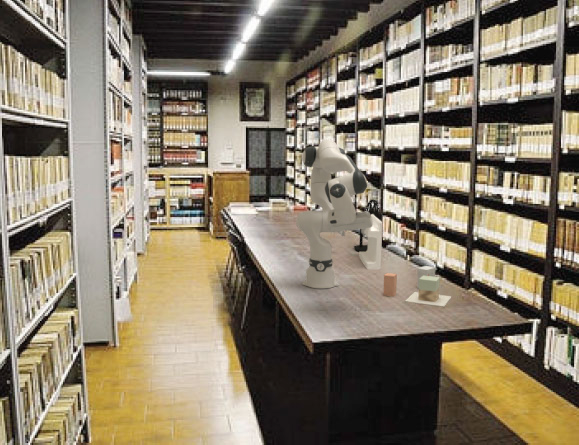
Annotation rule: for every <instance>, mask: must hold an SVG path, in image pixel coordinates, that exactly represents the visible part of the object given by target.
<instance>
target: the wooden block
mask: <svg viewBox="0 0 579 445" xmlns="http://www.w3.org/2000/svg"><path fill="white" fill-rule="evenodd" d="M418 292H419V296H418V300H424V301H432V302H436V301H437V299H438V298H439V295H440V288H439V289H438V290H437V291H436V292H435V291H427V290H419V289H418Z"/></svg>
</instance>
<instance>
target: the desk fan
mask: <svg viewBox="0 0 579 445" xmlns="http://www.w3.org/2000/svg"><path fill="white" fill-rule="evenodd" d="M364 211H366V212H369V213H370V214H373V215H374V216H375V217H377V218H378V219H379V220H380V221H381V222H382V223H383V216H382V215H383V214H382V213H381V207H380V204H379V203H378V201H377V200H376V199H370V200H369V201H368V203H367V204H366V207H365V209H364ZM363 235H364V234H362V233H361V229H359V244H356V245H354V246H353V248H354V250H355V251H356V252H366V251H367V249H368V244H363V242H364V240H363V238H364V237H363Z"/></svg>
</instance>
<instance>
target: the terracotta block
mask: <svg viewBox="0 0 579 445" xmlns="http://www.w3.org/2000/svg"><path fill="white" fill-rule="evenodd" d="M397 279H398V274H397V273H390V272H387V273H385V274H384V275H383V293H382V294H383V296H389V297H395V296H396V295H397V286H398V285H397V284H398V283H397V281H398V280H397Z"/></svg>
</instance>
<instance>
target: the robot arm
mask: <svg viewBox="0 0 579 445" xmlns="http://www.w3.org/2000/svg"><path fill="white" fill-rule="evenodd" d="M302 162H303V165H304V166H305V167H307V168H312V169H311V174H310V200H311V202H312V203H314V204H315V205H318V206H320V208H321V209H322V210H307V211H305V210H304V211H301V212H299V213H298V215H297V216H296V220H295V222H296V223H295V224H296V226H297V229H298V230H299V231H300V232H302V233H303V234H304V235H305V237H306V238H307V240H308V243H309V252H310V253H309V254H310V255H309V257H310V258H309V260H308V267H307V269H306V271H305V274H306V275H305V280H304V281H302V285H303V286H305V287H306V286H307V287H309V288H313V289H330V288H334V287H339V285H340V284H339V282H338V281H337V280H336V270H335V269H334V267H333V262H334V261H333V258H332V256H333V255H332V252H333V251H332V250H333V246H332V243H331V242H330V241H329V240H328V239H325V237H322V236H321V234H320V233H338V234H340V235H341V237H346V232H345V231H355V230H360V229H361V233H362V234H363V235H366V234H365V230H366V228H371V227H372V225H373V221H372V218H371V214H372V213H371V212H370V213H369V211H368V212H367V210H366V211H365V210H364V211H357V210H356V207H355V205H354V203H353V199H352V196H355V195H360V194H364V192H366V190H367V188H368V180H367V178H366V176H365V174H364V173H363V172H362V171H361V170H360V168H359V167H358V166H357V165H356V163H355V162H354V161H353V159H352V158H351V156H349V155H348V154H346V152H345V150H344V149H343V148H342V147H339V146H338V144H337V143H336V142H335V141H334V140H332V139H324V140H322V141H321V142H320V143H319V145H318V146H313V145H312V146H307V147H305V148H304V150H303V152H302ZM338 172H339V173H340V172H348V174H345V175H342V176H339V177H335V178H332V174H333V173H334V174H335V173H338Z"/></svg>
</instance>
